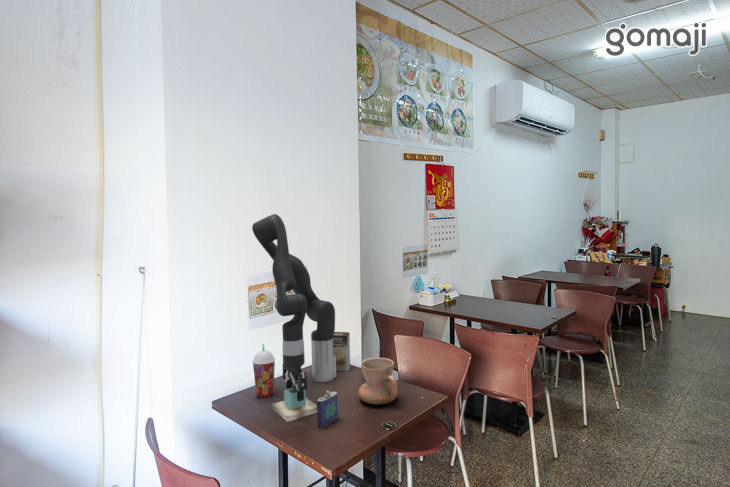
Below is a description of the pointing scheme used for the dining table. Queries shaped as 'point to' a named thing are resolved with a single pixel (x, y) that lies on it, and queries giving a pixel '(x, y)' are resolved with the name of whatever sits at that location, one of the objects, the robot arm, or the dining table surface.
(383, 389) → the ceramic jug
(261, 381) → the smoothie
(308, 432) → the dining table surface
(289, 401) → the teal hollow block
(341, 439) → the dining table surface
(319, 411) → the flask
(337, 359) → the coffee box
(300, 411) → the shaft stand
